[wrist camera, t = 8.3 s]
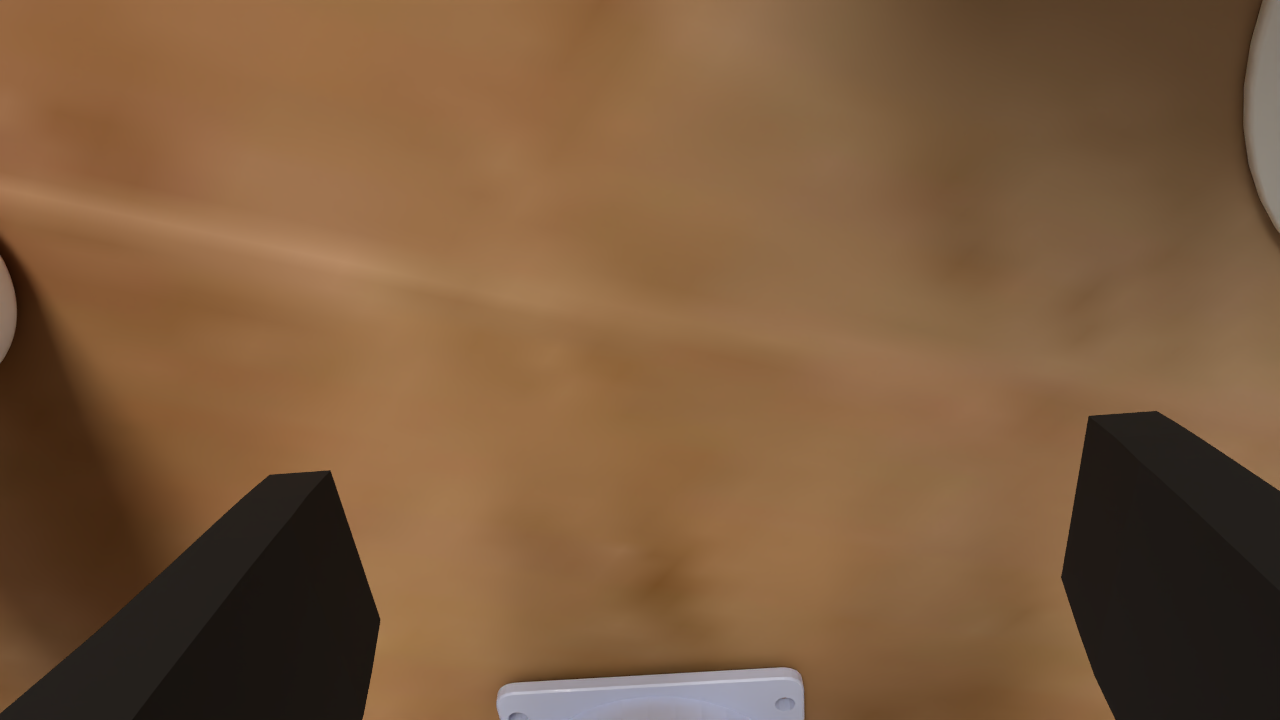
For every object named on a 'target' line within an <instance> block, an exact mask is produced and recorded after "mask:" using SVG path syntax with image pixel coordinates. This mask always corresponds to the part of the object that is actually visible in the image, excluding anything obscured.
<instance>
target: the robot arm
mask: <svg viewBox="0 0 1280 720" xmlns="http://www.w3.org/2000/svg"><path fill="white" fill-rule="evenodd" d="M1061 578H1062V582H1063V585H1064V588H1065V591H1066V594H1067V597H1068V600H1069V603H1070V606H1071V609H1072V612H1073V615H1074V618H1075V621H1076V624H1077V628H1078V631H1079V633H1080V636H1081V639H1082V642H1083V645H1084V647H1085V650H1086V653H1087V656H1088V659H1089V661H1090V664H1091V667H1092V670H1093V673H1094V675H1095V678H1096V680H1097V682H1098V684H1099V686H1100V688H1101V690H1102V692H1103V695H1104V697H1105V699H1106V701H1107V703H1108V705H1109V707H1110V709H1111V711H1112V713H1113V715H1114V717H1115V719H1116V720H1280V491H1279V490H1277V489H1276V488H1274V487H1273V486H1271V485H1270V484H1268V483H1267V482H1265V481H1264V480H1262V479H1261V478H1259V477H1258V476H1256V475H1255V474H1253V473H1252V472H1250V471H1249V470H1247V469H1246V468H1244V467H1243V466H1241V465H1240V464H1238V463H1237V462H1235V461H1234V460H1233V459H1231V458H1229V457H1228V456H1226V455H1225V454H1223V453H1222V452H1220V451H1219V450H1217V449H1216V448H1214V447H1213V446H1211V445H1210V444H1208V443H1207V442H1205V441H1204V440H1202V439H1201V438H1199V437H1198V436H1196V435H1195V434H1193V433H1192V432H1190V431H1188V430H1187V429H1185V428H1184V427H1182V426H1181V425H1179V424H1177V423H1176V422H1174V421H1172V420H1171V419H1169V418H1167V417H1166V416H1164V415H1162V414H1161V413H1159V412H1157V411H1151V412H1137V413H1123V414H1109V415H1095V416H1089V417H1088V423H1087V429H1086V435H1085V441H1084V447H1083V453H1082V459H1081V465H1080V470H1079V476H1078V482H1077V488H1076V494H1075V500H1074V506H1073V512H1072V517H1071V523H1070V529H1069V535H1068V541H1067V547H1066V553H1065V559H1064V565H1063V570H1062V576H1061ZM379 625H380V617H379V614H378V611H377V608H376V605H375V602H374V599H373V596H372V593H371V590H370V587H369V584H368V581H367V578H366V575H365V572H364V569H363V566H362V563H361V560H360V557H359V554H358V551H357V549H356V546H355V543H354V540H353V537H352V534H351V531H350V528H349V525H348V522H347V519H346V516H345V513H344V510H343V507H342V504H341V501H340V498H339V495H338V492H337V489H336V486H335V483H334V480H333V477H332V474H331V471H316V472H302V473H288V474H274V475H269V476H268V477H267V478H265V479H264V480H263V481H262V482H261V483H259V484H258V485H257V486H256V487H255V488H253V489H252V490H251V491H250V492H249V493H248V494H247V495H245V496H244V497H243V498H242V499H241V500H240V501H239V502H238V503H236V504H235V505H234V506H233V507H232V508H231V509H230V510H229V511H228V512H227V513H225V514H224V515H223V516H222V517H221V518H220V519H219V520H218V521H217V522H216V523H215V524H214V525H212V526H211V527H210V528H209V529H208V530H207V531H206V532H205V533H204V534H203V535H202V536H201V537H200V538H198V539H197V540H196V541H195V542H194V543H193V544H192V545H191V546H190V547H189V548H188V549H187V550H186V551H185V552H183V553H182V554H181V555H180V556H179V557H178V558H177V559H176V560H175V561H174V562H173V563H172V564H171V565H169V566H168V567H167V568H166V569H165V570H164V571H163V572H162V573H161V574H160V575H158V576H157V577H156V578H155V579H154V580H153V581H152V582H151V583H150V584H149V585H148V586H146V587H145V588H144V589H143V590H142V591H141V592H140V593H139V594H138V595H137V596H136V597H134V598H133V599H132V600H131V601H130V602H129V603H128V604H127V605H126V606H125V607H123V608H122V609H121V610H120V611H119V612H118V613H117V614H116V615H115V616H114V617H113V618H111V619H110V620H109V621H108V622H107V623H106V624H105V625H104V626H103V627H101V628H100V629H99V630H98V631H97V632H96V633H95V634H94V635H92V636H91V637H90V638H89V639H88V640H86V641H85V642H84V643H83V644H82V645H81V646H79V647H78V648H77V649H76V650H75V651H73V652H72V653H71V654H70V655H69V656H68V657H66V658H65V659H64V660H63V661H62V662H61V663H59V664H58V665H57V666H56V667H55V668H53V669H52V670H51V671H50V672H49V673H48V674H46V675H45V676H44V677H43V678H42V679H40V680H39V681H38V682H37V683H36V684H35V685H33V686H32V687H31V688H30V689H29V690H28V691H26V692H25V693H24V694H23V695H22V696H20V697H19V698H18V699H17V700H16V701H15V702H13V703H12V704H11V705H10V706H9V707H7V708H6V709H5V710H4V711H3V712H2V713H0V720H362V719H363V715H364V709H365V704H366V699H367V694H368V689H369V684H370V679H371V674H372V668H373V662H374V656H375V650H376V644H377V637H378V631H379ZM782 698H784V699H782ZM496 706H497V710H498V714H499V717H500V720H804V686H803V680H802V677H801V674H800V673H799V672H798V671H797V670H794V669H791V668H786V667H777V668H760V669H742V670H725V671H708V672H690V673H673V674H655V675H638V676H620V677H603V678H585V679H568V680H551V681H533V682H516V683H510V684H506V685H504V686H503V687H501V688H500V690H499V691H498V696H497V705H496ZM516 712H518V713H516Z"/></svg>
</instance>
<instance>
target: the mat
mask: <svg viewBox="0 0 1280 720" xmlns="http://www.w3.org/2000/svg"><path fill="white" fill-rule="evenodd" d="M1243 129H1244V136H1245V143H1246V150H1247V157H1248V164H1249V167H1250V171H1251V174H1252V177H1253V180H1254V183H1255V186H1256V190H1257V193H1258V196H1259V198H1260V200H1261V202H1262V204H1263V206H1264V208H1265V210H1266V212H1267V214H1268V215H1269V217H1270V219H1271V221H1272V223H1273V225H1274V227H1275V228H1276V229H1277V231H1278V232H1279V233H1280V0H1263V1H1262V4H1261V8H1260V11H1259V15H1258V18H1257V22H1256V25H1255V29H1254V32H1253V36H1252V39H1251V43H1250V50H1249V56H1248V63H1247V69H1246V75H1245V82H1244V110H1243Z"/></svg>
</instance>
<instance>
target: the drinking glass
mask: <svg viewBox="0 0 1280 720" xmlns="http://www.w3.org/2000/svg"><path fill="white" fill-rule="evenodd" d="M16 324H17V302H16V295H15V290H14V286H13V283H12V279H11V276H10V274H9V271H8V269H7V267H6V265H5V263H4V261H3V259H2V257H1V255H0V363H1V362H2V361H3V359H4V358H5V356H6V354H7V352H8V350H9V348H10V346H11V343H12V340H13V338H14V334H15V329H16Z"/></svg>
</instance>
